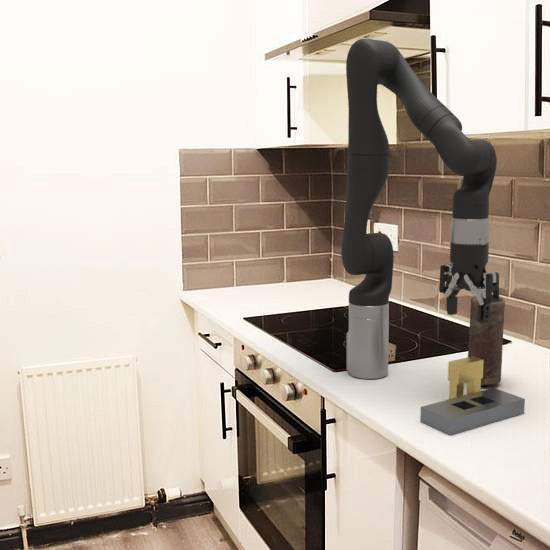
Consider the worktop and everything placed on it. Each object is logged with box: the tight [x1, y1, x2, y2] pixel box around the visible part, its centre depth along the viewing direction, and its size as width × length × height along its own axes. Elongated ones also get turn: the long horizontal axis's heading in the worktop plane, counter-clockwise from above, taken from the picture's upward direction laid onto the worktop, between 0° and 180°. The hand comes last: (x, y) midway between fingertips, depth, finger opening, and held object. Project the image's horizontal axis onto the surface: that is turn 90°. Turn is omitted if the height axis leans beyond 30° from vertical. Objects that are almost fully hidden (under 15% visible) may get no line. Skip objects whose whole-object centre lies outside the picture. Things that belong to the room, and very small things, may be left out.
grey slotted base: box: [420, 387, 526, 436], centre depth 137 cm, size 8×20×3 cm, turn 121°
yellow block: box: [447, 356, 484, 400], centre depth 146 cm, size 3×7×8 cm, turn 121°
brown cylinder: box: [467, 293, 506, 387], centre depth 155 cm, size 8×7×20 cm
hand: (467, 318), depth 144 cm, fingers open, 8 cm apart
